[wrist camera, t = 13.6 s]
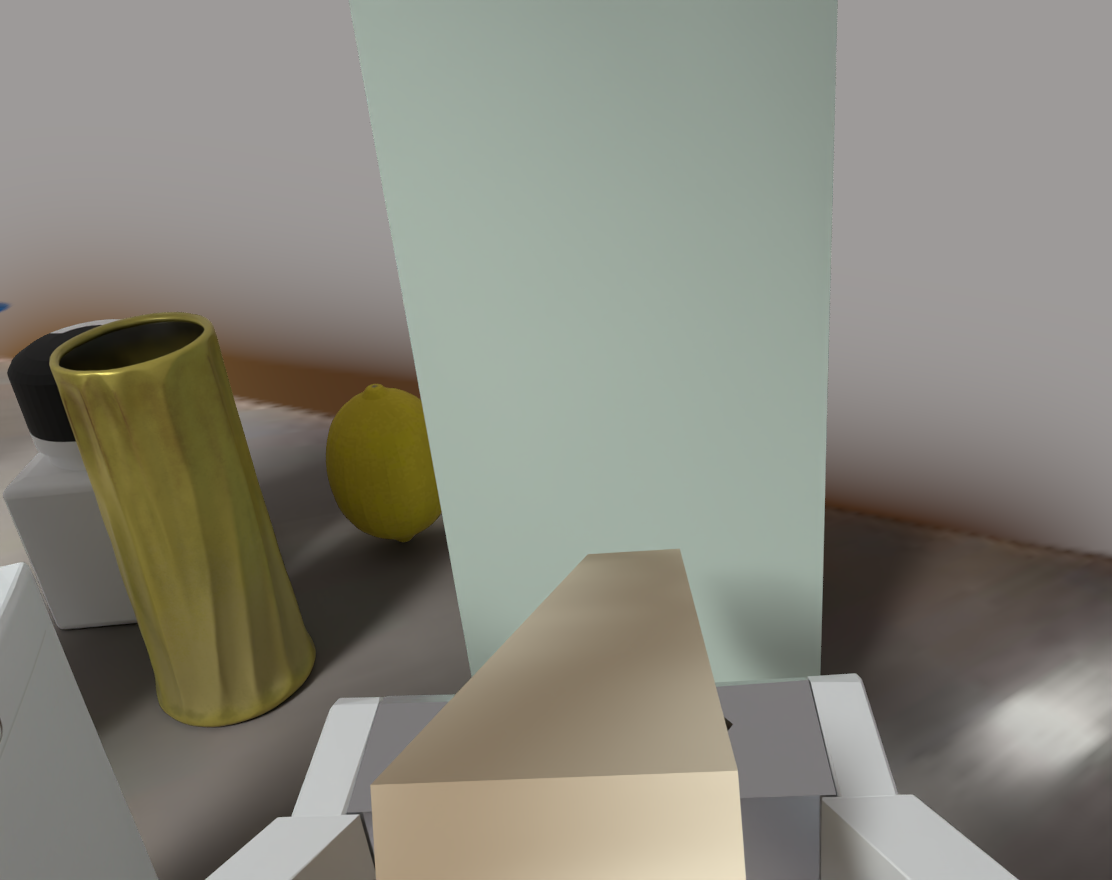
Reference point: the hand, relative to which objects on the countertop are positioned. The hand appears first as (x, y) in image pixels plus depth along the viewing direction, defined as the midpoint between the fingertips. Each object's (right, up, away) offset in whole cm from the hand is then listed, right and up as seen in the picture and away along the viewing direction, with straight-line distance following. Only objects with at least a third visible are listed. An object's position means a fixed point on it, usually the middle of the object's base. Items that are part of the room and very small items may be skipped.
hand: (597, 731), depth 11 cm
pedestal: (+3, -4, +30) cm, 30 cm away
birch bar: (+1, -2, +6) cm, 6 cm away
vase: (-13, -6, +29) cm, 33 cm away
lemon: (-7, -2, +37) cm, 38 cm away
